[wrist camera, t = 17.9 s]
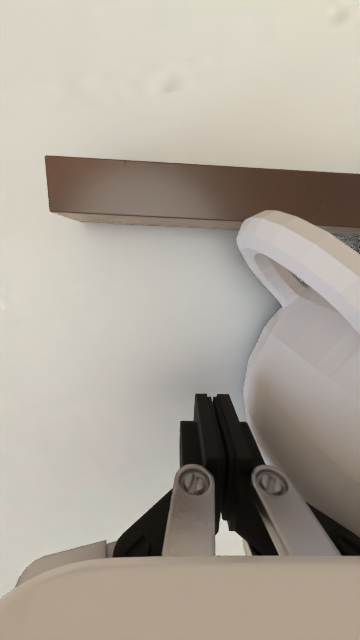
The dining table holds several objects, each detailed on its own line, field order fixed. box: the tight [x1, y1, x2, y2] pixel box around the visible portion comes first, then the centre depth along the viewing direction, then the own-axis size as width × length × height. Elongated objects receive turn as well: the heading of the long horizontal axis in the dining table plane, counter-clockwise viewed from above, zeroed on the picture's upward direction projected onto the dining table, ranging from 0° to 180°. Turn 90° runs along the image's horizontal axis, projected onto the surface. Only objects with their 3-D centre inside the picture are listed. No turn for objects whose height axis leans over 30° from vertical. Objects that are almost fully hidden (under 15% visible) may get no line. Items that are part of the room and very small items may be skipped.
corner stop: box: [45, 155, 360, 236], centre depth 15 cm, size 24×33×4 cm
